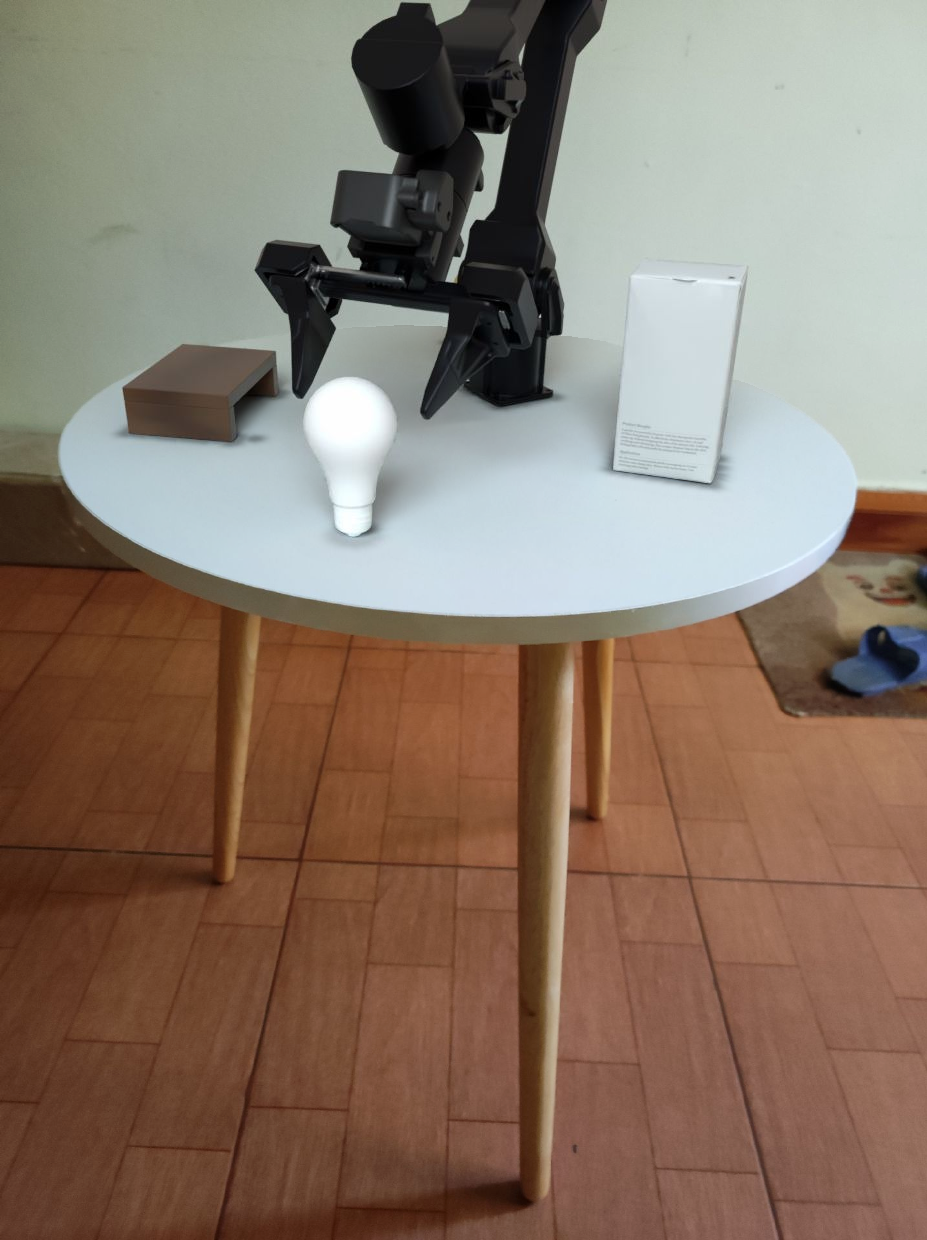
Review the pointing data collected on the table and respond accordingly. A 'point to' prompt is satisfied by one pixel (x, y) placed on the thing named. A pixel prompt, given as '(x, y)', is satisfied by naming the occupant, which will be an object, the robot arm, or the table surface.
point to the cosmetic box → (677, 367)
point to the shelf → (198, 391)
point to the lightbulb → (351, 445)
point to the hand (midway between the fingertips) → (359, 405)
